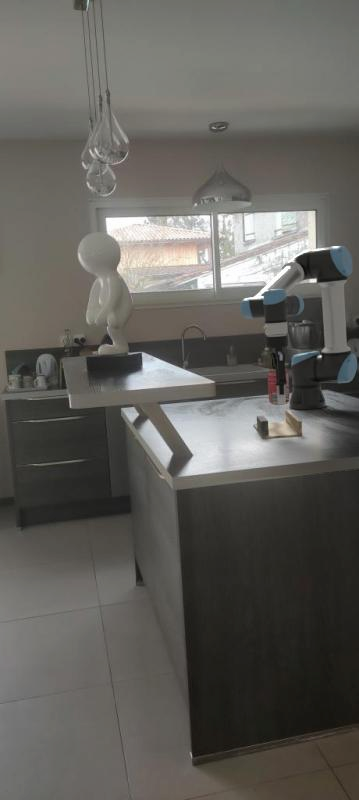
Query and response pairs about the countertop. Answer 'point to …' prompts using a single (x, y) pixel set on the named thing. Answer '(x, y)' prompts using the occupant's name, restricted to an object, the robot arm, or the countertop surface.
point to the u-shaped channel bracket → (279, 427)
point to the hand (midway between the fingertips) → (279, 402)
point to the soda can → (273, 389)
